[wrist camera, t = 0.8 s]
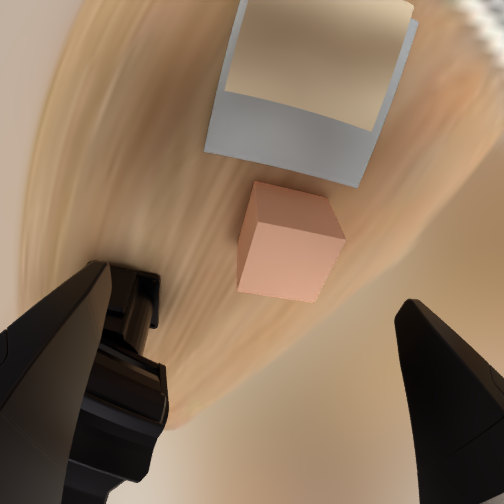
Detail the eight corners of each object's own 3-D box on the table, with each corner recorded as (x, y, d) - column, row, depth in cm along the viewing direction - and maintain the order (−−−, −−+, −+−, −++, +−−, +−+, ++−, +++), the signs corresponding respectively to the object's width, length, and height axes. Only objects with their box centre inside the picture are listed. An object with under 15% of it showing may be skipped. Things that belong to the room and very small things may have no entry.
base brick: (346, 113, 16) (371, 132, 13) (228, 80, 15) (224, 90, 12) (380, 10, 12) (414, 6, 9) (259, -31, 11) (264, -51, 8)
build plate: (354, 184, 20) (357, 188, 20) (204, 148, 18) (203, 151, 18) (414, 22, 13) (418, 21, 13) (252, -37, 11) (252, -40, 11)
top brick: (302, 254, 24) (314, 302, 20) (237, 242, 23) (236, 291, 19) (326, 197, 21) (346, 240, 17) (254, 180, 20) (257, 221, 16)
